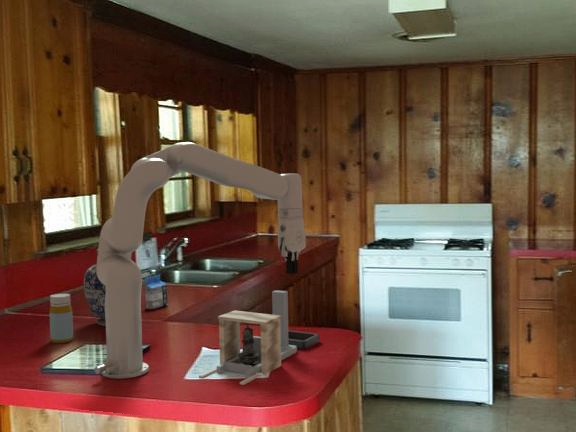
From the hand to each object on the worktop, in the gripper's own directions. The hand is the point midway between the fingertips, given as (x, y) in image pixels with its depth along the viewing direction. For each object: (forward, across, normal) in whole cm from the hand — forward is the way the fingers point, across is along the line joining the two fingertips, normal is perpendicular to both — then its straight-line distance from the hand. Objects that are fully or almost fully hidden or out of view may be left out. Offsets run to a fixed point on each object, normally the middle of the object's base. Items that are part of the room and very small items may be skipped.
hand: (292, 273), depth 211 cm
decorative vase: (+22, -3, +73) cm, 77 cm away
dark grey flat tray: (+23, +1, 0) cm, 23 cm away
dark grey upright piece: (+22, -26, 0) cm, 34 cm away
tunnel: (+22, -25, 0) cm, 33 cm away
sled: (+22, -20, 0) cm, 30 cm away
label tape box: (+22, +25, +76) cm, 84 cm away
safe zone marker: (+22, -35, 0) cm, 41 cm away
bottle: (+22, -29, +70) cm, 79 cm away
